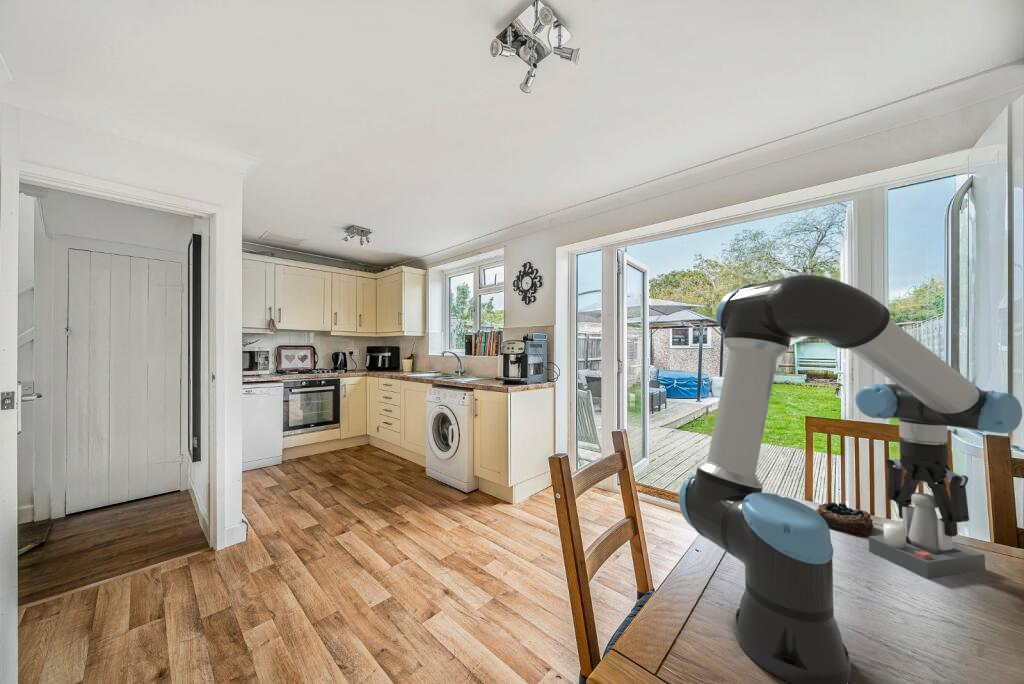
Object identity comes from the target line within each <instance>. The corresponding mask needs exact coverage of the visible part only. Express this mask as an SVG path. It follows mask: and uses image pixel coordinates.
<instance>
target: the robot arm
mask: <svg viewBox="0 0 1024 684" xmlns="http://www.w3.org/2000/svg"><path fill="white" fill-rule="evenodd" d="M715 319H716V320H715V321H716V325H718V326H719V327H718V330H719V331H720V333H721V334H722V335H723V340H722V343H723V344H724V345H725V346H726V348H727V349H728V354H727V360H726V365H725V371H724V374H723V378H722V379H723V380H722V384H721V390H720V395H719V401H718V405H717V411H716V415H715V419H714V420H715V421H714V425H713V430H712V434H711V435H712V436H711V440H710V444H709V449H708V454H707V458H706V460H705V461H703V462H701V463H700V464H698V465H697V468H696V473H693V474H691V475H690V476H688V477H687V480H684V481H683V483H682V485H681V487H680V489H679V494H678V505H679V509H680V512H681V514H682V517H683V518H684V520H685V521H686V523H687V524H689V526H690V527H691V528H693V530H695V531H696V532H697V533H698V534H699V535H700V536H701V537H704V538H705V539H707V540H709V541H710V542H712V543H713V544H715V545H716V546H717V547H720V548H721V549H722V550H724V551H725V552H726V553H728V554H730V555H731V556H732V557H734V558H736V559H737V560H738V561H740V562H742V564H743V565H744V577H745V579H744V581H745V588H744V591H743V594H742V597H741V599H740V604H739V608H737V610H736V613H735V618H734V634H735V637H736V640H737V643H738V644H739V646H740V647H741V649H742V650H743V651H744V652H745V653H746V654H747V656H749V658H750V659H751V660H753V661H754V662H755V663H756V664H757V665H758V666H760V667H762V668H763V669H764V670H766V671H767V672H769V673H770V674H772V675H773V676H775V677H777V678H779V679H782V680H784V681H786V682H788V683H790V684H847V683H848V682H849V681H850V682H851V680H850V679H852V665H851V663H852V662H851V657H850V654H849V653H850V652H848V649H847V647H846V645H845V644H844V642H843V638H842V633H841V632H840V629H839V626H838V623H837V621H836V618H835V615H834V610H835V609H834V576H833V575H834V573H833V571H834V570H833V564H834V563H833V557H834V548H833V542H832V539H831V530H830V528H828V524H827V523H826V521H825V520H824V519H823V518H822V516H821V515H819V514H818V513H817V512H816V510H815V509H814V508H811V507H810V506H809V505H806V504H804V503H803V502H800V501H798V500H796V499H793V498H791V497H787V496H785V497H783V496H780V495H779V494H777V493H770V492H763V488H764V486H763V484H762V482H761V481H760V480H759V478H758V477H757V475H756V474H757V473H756V472H757V467H758V462H759V458H760V452H761V446H762V442H763V436H764V430H765V427H766V420H767V415H768V409H769V405H770V401H771V394H772V389H773V383H774V379H775V373H776V369H777V362H778V358H779V357H781V356H782V355H784V354H785V353H787V352H789V350H790V344H791V339H792V338H802V337H806V338H807V337H808V338H816V339H820V340H823V341H826V342H828V343H829V344H830V345H832V346H833V347H835V348H838V349H843V350H849V351H851V352H852V353H853V354H855V355H856V356H857V357H859V358H860V359H861V360H863V361H864V362H866V363H867V364H868V365H869V366H871V367H872V368H874V369H876V371H878V372H880V373H881V374H882V375H884V376H885V377H886V378H887V379H889V380H891V382H893V383H891V384H890V383H889V384H888V383H884V384H882V383H881V384H880V383H875V384H870V385H865V386H862V387H861V388H860V389H859V390H857V392H856V394H855V397H854V398H855V400H854V401H855V405H856V407H857V409H858V410H859V411H860V412H861V413H862V414H863V415H865V416H867V417H869V418H871V419H872V418H873V419H882V420H886V419H887V420H888V419H896V420H897V419H898V429H899V430H898V432H899V433H898V434H899V435H898V436H899V437H900V438H901V439H900V440H899V453H900V455H901V457H900V458H899V459H896V458H891V459H886V460H885V463H886V465H887V466H886V467H887V469H888V478H887V481H888V483H887V485H888V486H887V487H888V488H887V498H888V500H890V501H893V502H895V503H897V505H898V516H899V518H900V519H902V527H903V528H905V529H906V536H908V535H909V530H910V526H911V521H912V517H913V512H914V507H915V506H912V505H914V503H913V502H912V500H911V496H912V494H914V493H916V491H917V488H918V485H919V483H920V482H923V483H926V485H927V487H928V488H929V489H930V491H931V492H932V496H934V498H935V501H936V503H937V506H938V510H939V514H940V516H941V518H938V519H937V521H938V545H939V549H941V550H949V549H953V545H952V542H953V537H956V536H957V534H958V533H957V531H958V528H957V523H963V522H969V521H970V514H969V507H968V506H969V505H968V497H967V489H966V486H967V484H968V482H969V477H968V476H967V475H960V474H958V473H955V471H954V472H953V471H951V468H950V466H949V464H948V463H949V460H950V459H949V458H950V457H949V445H948V444H946V443H947V442H948V427H951V428H952V427H953V428H958V429H965V430H972V431H978V432H981V433H982V432H988V433H999V434H1008V433H1012V432H1014V431H1016V430H1017V429H1018V428H1019V426H1020V425H1021V424H1020V423H1021V421H1022V417H1023V409H1022V408H1023V407H1022V405H1021V403H1020V400H1018V398H1017V397H1015V395H1012V394H1010V393H1007V392H1001V391H1000V392H999V391H995V390H982V389H980V388H979V387H978V386H977V385H975V384H974V383H973V382H972V381H970V380H969V379H967V378H966V377H965V376H964V375H963V374H961V373H960V372H959V371H957V369H954V368H953V367H952V366H951V365H950V364H948V363H947V362H945V360H943V359H942V358H941V357H939V356H938V355H936V353H934V352H933V351H931V350H930V349H929V348H927V347H926V346H925V345H923V344H922V343H921V342H920V341H919V340H917V339H916V338H914V337H913V336H912V335H911V334H909V333H908V332H907V331H906V330H905V329H903V328H902V327H901V326H899V325H898V324H897V323H895V321H893V320H892V314H891V312H890V310H889V309H888V307H886V306H885V305H883V304H882V303H881V302H880V301H879V300H877V299H875V298H874V297H872V296H871V295H870V294H868V293H866V292H865V291H863V290H861V289H859V288H857V287H854V286H852V285H850V284H848V283H845V282H842V281H840V280H838V279H834V278H831V277H827V276H822V275H816V274H796V275H792V276H788V277H783V278H780V279H779V278H778V279H775V280H773V279H772V280H769V281H764V282H760V283H750V284H747V285H743V286H741V287H738V288H735V289H733V290H731V291H730V292H728V293H727V294H725V295H724V296H723V298H722V299H721V300H720V302H719V304H718V306H717V310H716V314H715ZM903 469H904V470H905V474H904V477H903ZM946 478H948V479H947V481H948V483H949V493H948V490H947V482H946V481H945V479H946ZM903 479H904V480H903ZM949 494H950V496H949ZM850 682H849V683H850Z"/></svg>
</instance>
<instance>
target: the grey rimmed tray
mask: <svg viewBox="0 0 1024 684" xmlns="http://www.w3.org/2000/svg"><path fill="white" fill-rule="evenodd" d="M952 545H953V549H949V550H944V551H943V552H942V554H941V555H934V554H931V553H929V552H927V551H924V550H922V549H920V548H917V547H915V546H913V545H912V543H911V542H910V540H909V537H908V536H906V529H905V528H903V526H902V525H898V524H894V523H889V522H887V523H883V534H880V535H873V536H872V535H871V536H868V552H870V553H872V554H874V555H876V556H878V557H880V558H883V559H885V560H887V561H889V562H891V563H892V564H895V565H897V566H899V567H900V568H901V567H902V568H903V569H905V570H908V571H910V572H911V573H914V574H916V575H917V576H920V577H922V578H925V579H926V580H932V579H937V578H944V577H951V576H958V575H964V574H971V573H972V574H973V573H977V572H984V570H985V571H986V553H982V552H979V551H977V550H975V549H972V548H971V547H970V548H969V547H967V546H964V545H961V544H959V543H956V542H953V541H952Z"/></svg>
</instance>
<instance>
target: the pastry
mask: <svg viewBox="0 0 1024 684" xmlns="http://www.w3.org/2000/svg"><path fill="white" fill-rule="evenodd" d="M815 511H816V512H817V513H818V514H819V515H821V516H822V518H823V519H824V520H825V521H826V523H827V524H828V528H829V530H830V529H831V530H834V531H838V532H841V533H846V534H849V535H854V536H857V537H860V538H861V537H862V538H867V537H869V535H870V534H871V533H872V532H873V529H874V524H873V522H874V520H873V519H872V518H871V516H872V515H871V514H870V513H869V512H868V511H867V510H864V509H861V508H860V509H857V508H856V509H853V508H851V507H848V506H847V504H846V503H844V502H839V503H836V502H835V501H834V502H831V503H830V502H828V503H827V502H825V503H823V504H822V503H821V504H819V505H818V507H817V508H816V510H815Z"/></svg>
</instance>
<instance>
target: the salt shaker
mask: <svg viewBox="0 0 1024 684" xmlns="http://www.w3.org/2000/svg"><path fill="white" fill-rule="evenodd" d="M911 500H912V502H911V503H913V504H914V506H913V507H914V512H913V517H912V521H911V526H910V530H909V535H908V537H909V540H910V542H911V543H912V545H913V546H915V547H917V548H920V549H922V550H924V551H927V552H929V553H931V554H934V555H941V554H942V552H943V551H944V550H941V549H939V545H938V521H937V519H939V517H938V514H937V510H936V509H937V508H938V506H937V503H936V501H935V498H934V496H933V494H928V493H924V492H915V493H914V494H912V496H911Z"/></svg>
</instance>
